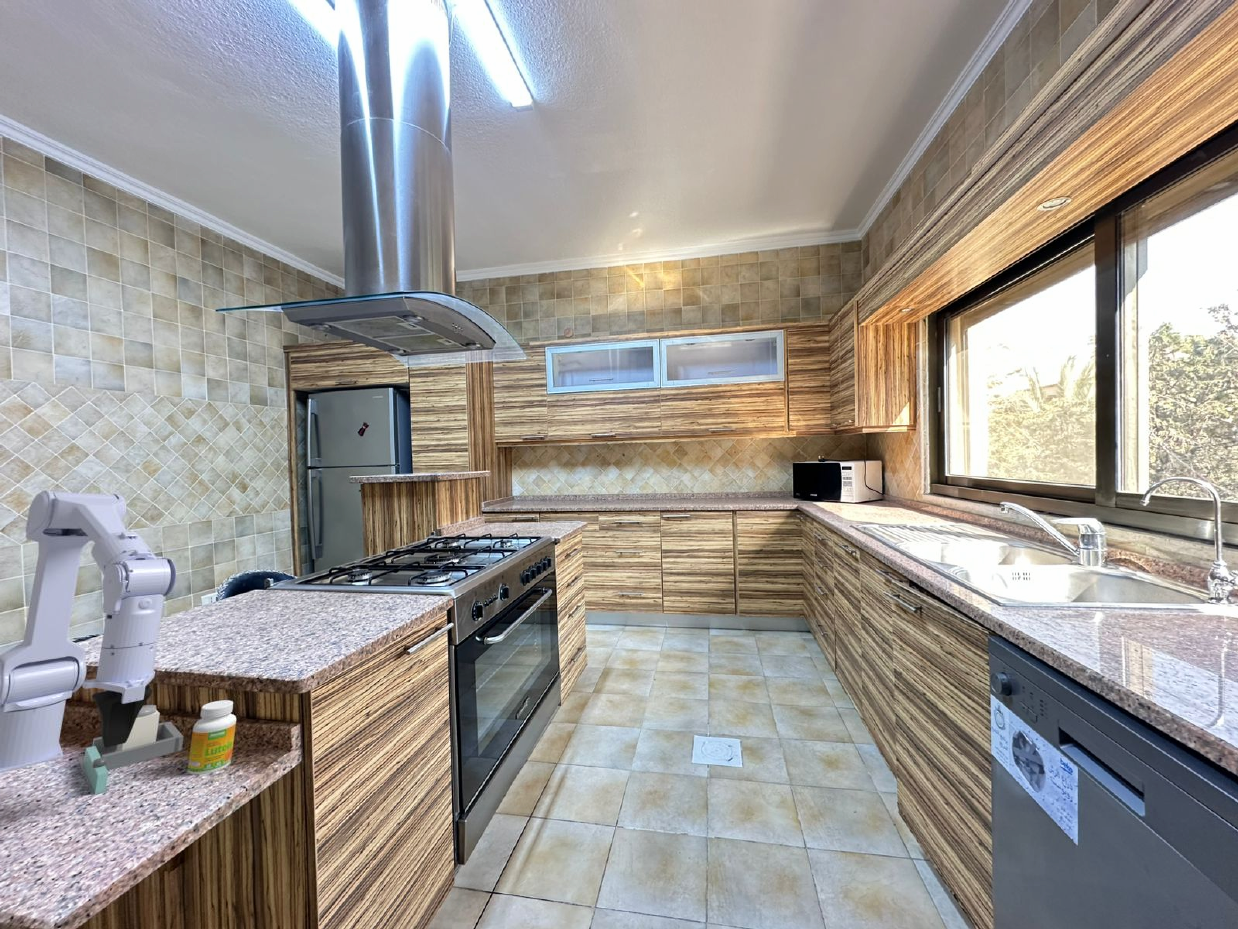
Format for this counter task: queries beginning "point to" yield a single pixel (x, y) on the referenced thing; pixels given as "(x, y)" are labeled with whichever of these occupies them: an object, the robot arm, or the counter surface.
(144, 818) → the counter surface
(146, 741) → the cream block with knob
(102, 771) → the teal long flat bar
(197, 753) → the supplement bottle
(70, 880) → the counter surface
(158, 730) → the housing
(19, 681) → the robot arm
